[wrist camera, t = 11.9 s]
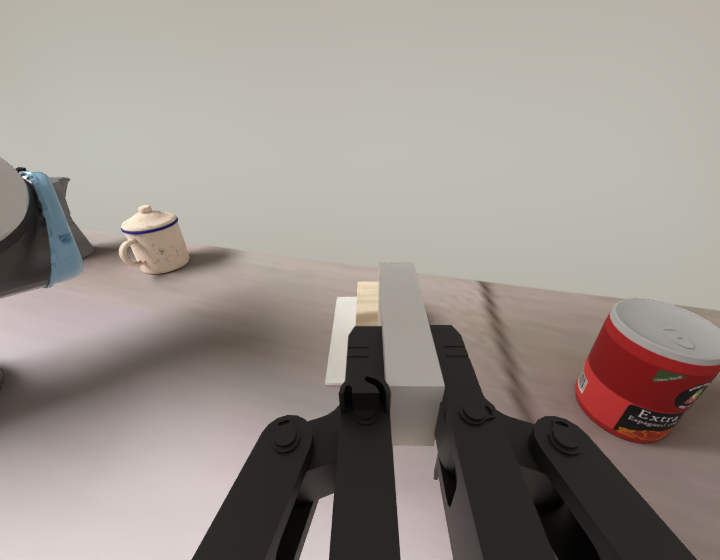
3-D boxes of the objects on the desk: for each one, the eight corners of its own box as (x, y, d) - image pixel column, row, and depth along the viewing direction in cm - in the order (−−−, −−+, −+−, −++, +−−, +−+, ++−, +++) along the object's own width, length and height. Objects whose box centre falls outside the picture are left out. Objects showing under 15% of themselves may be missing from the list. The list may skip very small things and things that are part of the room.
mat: (432, 385, 35) (432, 382, 35) (325, 385, 35) (324, 383, 35) (413, 298, 50) (413, 296, 49) (337, 299, 50) (337, 297, 50)
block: (403, 353, 32) (393, 281, 44) (353, 354, 32) (357, 281, 44) (401, 387, 34) (392, 310, 46) (355, 387, 35) (358, 310, 47)
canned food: (621, 455, 28) (685, 368, 22) (554, 385, 35) (590, 304, 29) (689, 435, 29) (764, 348, 24) (612, 371, 36) (656, 292, 30)
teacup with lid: (165, 251, 67) (144, 197, 61) (201, 256, 65) (183, 200, 59) (114, 280, 57) (83, 219, 51) (154, 286, 55) (126, 223, 49)
